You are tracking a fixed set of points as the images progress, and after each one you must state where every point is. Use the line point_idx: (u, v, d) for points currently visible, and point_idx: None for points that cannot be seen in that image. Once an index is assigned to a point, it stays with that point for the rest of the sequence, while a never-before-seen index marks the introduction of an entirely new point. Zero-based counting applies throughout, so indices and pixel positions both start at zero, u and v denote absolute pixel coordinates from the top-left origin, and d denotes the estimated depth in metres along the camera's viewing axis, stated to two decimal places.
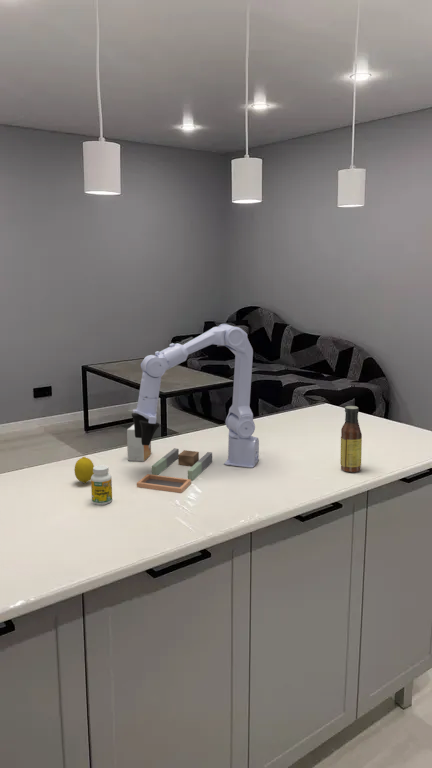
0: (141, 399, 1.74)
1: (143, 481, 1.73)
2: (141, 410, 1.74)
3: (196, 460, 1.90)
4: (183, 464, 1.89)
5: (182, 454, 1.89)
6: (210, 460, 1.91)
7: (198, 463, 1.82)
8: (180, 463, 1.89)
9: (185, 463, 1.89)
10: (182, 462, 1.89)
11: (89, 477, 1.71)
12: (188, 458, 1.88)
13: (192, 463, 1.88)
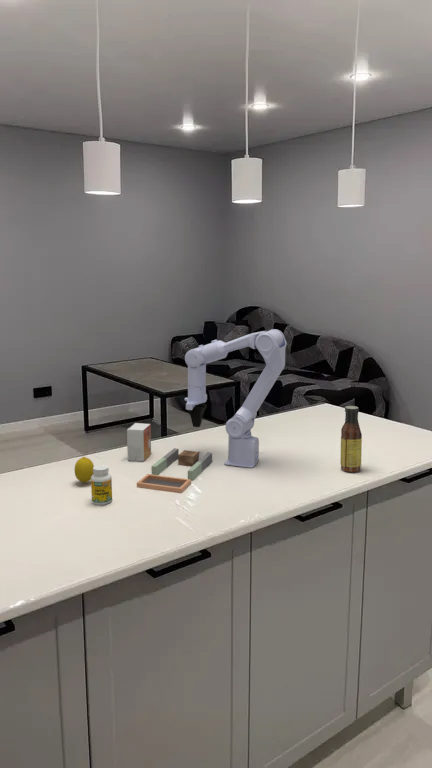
0: (188, 388, 1.93)
1: (143, 481, 1.73)
2: (188, 398, 1.93)
3: (196, 460, 1.90)
4: (183, 464, 1.89)
5: (182, 454, 1.89)
6: (210, 460, 1.91)
7: (198, 463, 1.82)
8: (180, 463, 1.89)
9: (184, 463, 1.89)
10: (182, 462, 1.89)
11: (89, 477, 1.71)
12: (188, 458, 1.88)
13: (192, 463, 1.88)
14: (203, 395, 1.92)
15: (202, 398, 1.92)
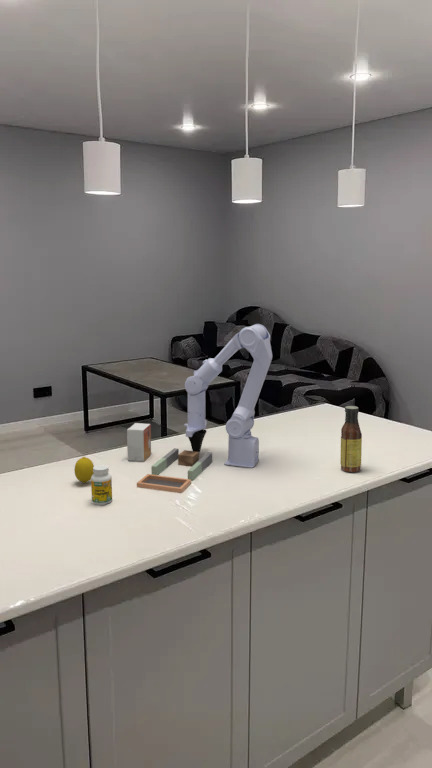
0: None
1: (143, 481, 1.73)
2: (188, 424, 1.94)
3: (196, 460, 1.90)
4: (183, 464, 1.89)
5: (182, 454, 1.89)
6: (210, 460, 1.91)
7: (198, 463, 1.82)
8: (180, 463, 1.89)
9: (184, 463, 1.89)
10: (181, 462, 1.89)
11: (89, 477, 1.71)
12: (188, 458, 1.88)
13: (192, 463, 1.88)
14: (203, 421, 1.93)
15: (202, 424, 1.93)
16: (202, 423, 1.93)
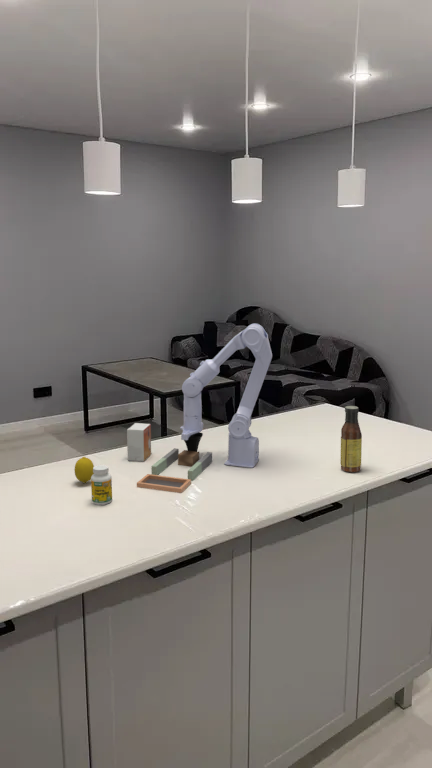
0: None
1: (143, 481, 1.73)
2: (184, 427, 1.91)
3: (196, 460, 1.90)
4: (183, 464, 1.89)
5: (182, 454, 1.89)
6: (210, 460, 1.91)
7: (198, 463, 1.82)
8: (180, 463, 1.89)
9: (184, 463, 1.88)
10: (181, 462, 1.89)
11: (89, 477, 1.71)
12: (188, 458, 1.88)
13: (191, 463, 1.88)
14: (199, 424, 1.90)
15: (198, 427, 1.90)
16: (198, 426, 1.90)
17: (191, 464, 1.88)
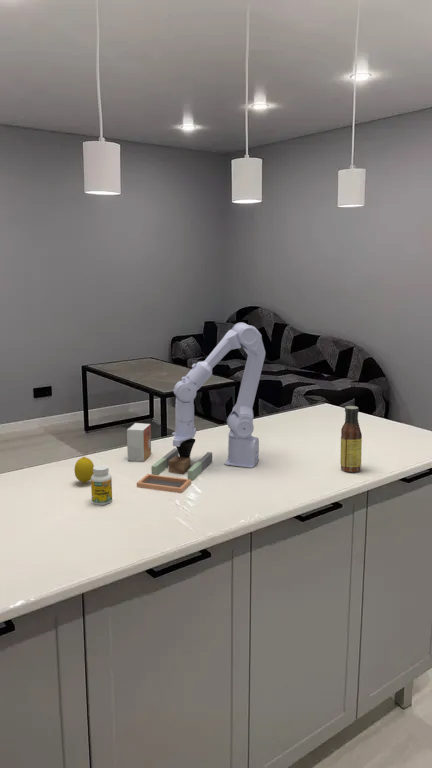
0: (175, 422, 1.84)
1: (143, 481, 1.73)
2: (176, 433, 1.84)
3: (187, 467, 1.84)
4: (173, 471, 1.82)
5: (173, 460, 1.83)
6: (210, 460, 1.91)
7: (198, 463, 1.82)
8: (170, 469, 1.83)
9: (175, 469, 1.82)
10: (172, 469, 1.82)
11: (89, 477, 1.71)
12: (179, 465, 1.81)
13: (182, 470, 1.81)
14: (191, 430, 1.84)
15: (190, 433, 1.83)
16: (190, 432, 1.84)
17: (182, 471, 1.81)
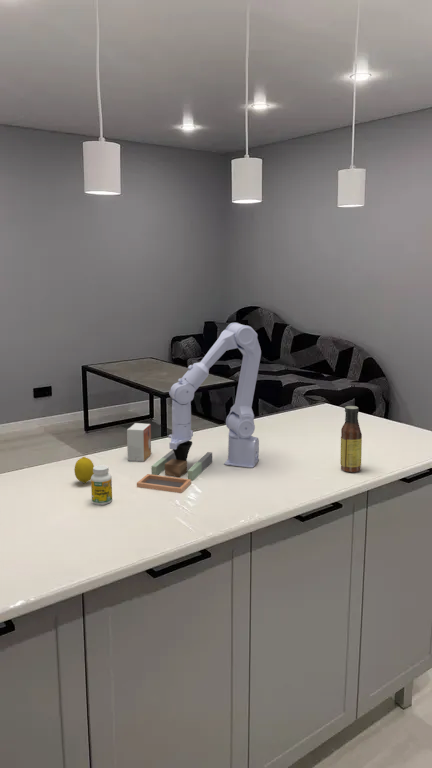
0: (172, 425, 1.82)
1: (143, 481, 1.73)
2: (172, 435, 1.82)
3: (184, 470, 1.81)
4: (169, 474, 1.80)
5: (169, 463, 1.80)
6: (210, 460, 1.91)
7: (198, 463, 1.82)
8: (166, 472, 1.80)
9: (171, 472, 1.80)
10: (168, 472, 1.80)
11: (89, 477, 1.71)
12: (175, 468, 1.79)
13: (179, 473, 1.79)
14: (188, 433, 1.81)
15: (187, 436, 1.81)
16: (187, 434, 1.81)
17: (178, 474, 1.79)
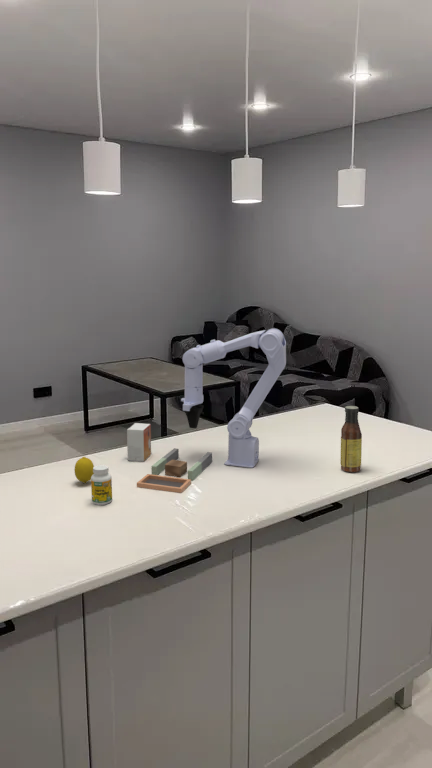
0: None
1: (143, 481, 1.73)
2: (185, 398, 1.90)
3: (184, 470, 1.81)
4: (170, 474, 1.80)
5: (169, 463, 1.80)
6: (210, 460, 1.91)
7: (198, 463, 1.82)
8: (167, 473, 1.80)
9: (171, 473, 1.79)
10: (168, 472, 1.80)
11: (89, 477, 1.71)
12: (175, 469, 1.79)
13: (179, 474, 1.79)
14: (200, 396, 1.89)
15: (199, 399, 1.89)
16: (199, 397, 1.89)
17: (178, 475, 1.79)
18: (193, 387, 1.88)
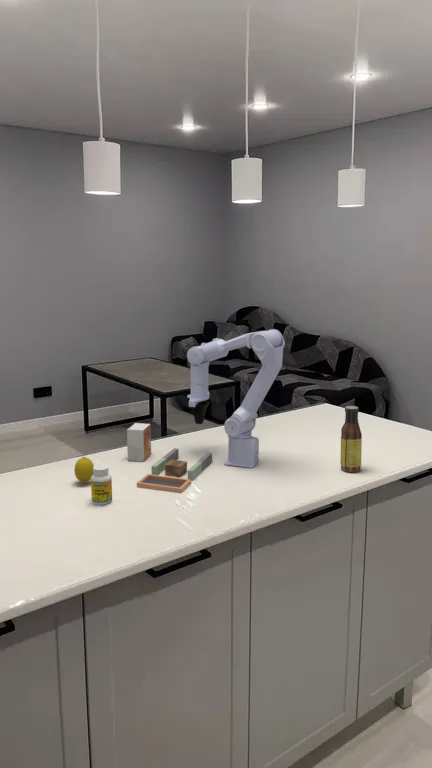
0: None
1: (143, 481, 1.73)
2: (191, 395, 1.95)
3: (184, 470, 1.81)
4: (170, 474, 1.80)
5: (169, 464, 1.80)
6: (210, 460, 1.91)
7: (198, 463, 1.82)
8: (167, 473, 1.80)
9: (172, 473, 1.79)
10: (168, 472, 1.80)
11: (89, 477, 1.71)
12: (175, 469, 1.79)
13: (179, 474, 1.79)
14: (206, 392, 1.94)
15: (205, 395, 1.94)
16: (205, 394, 1.94)
17: (179, 475, 1.79)
18: (199, 384, 1.92)
